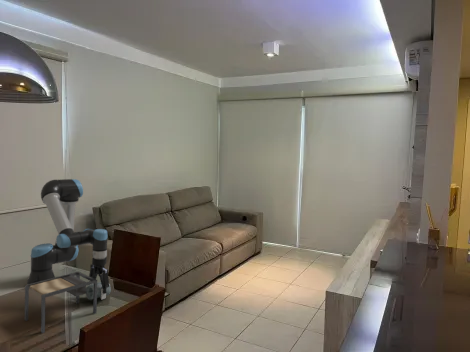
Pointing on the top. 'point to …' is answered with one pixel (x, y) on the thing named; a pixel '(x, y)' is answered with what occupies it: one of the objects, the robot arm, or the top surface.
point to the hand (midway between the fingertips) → (98, 295)
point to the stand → (78, 274)
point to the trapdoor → (60, 286)
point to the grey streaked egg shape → (91, 290)
